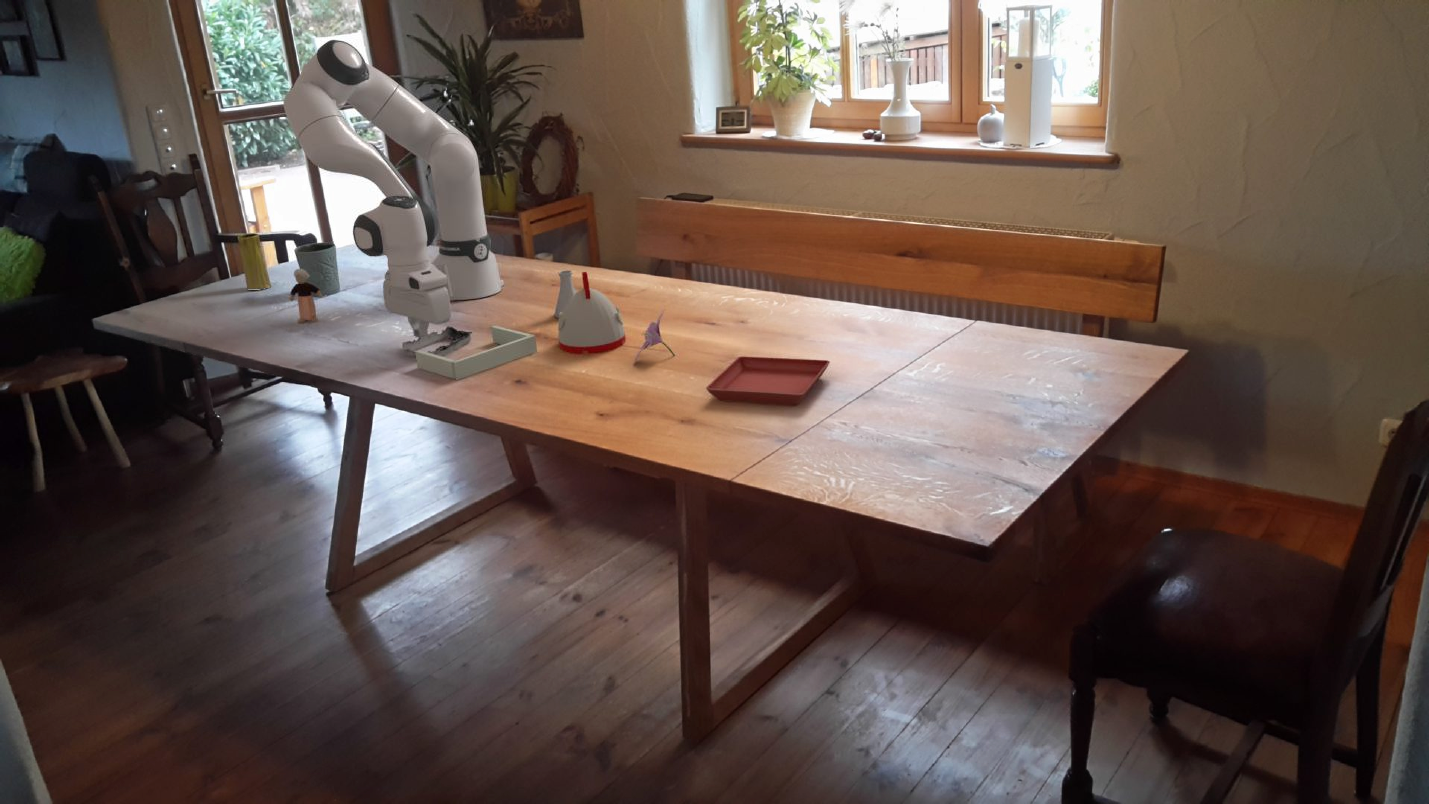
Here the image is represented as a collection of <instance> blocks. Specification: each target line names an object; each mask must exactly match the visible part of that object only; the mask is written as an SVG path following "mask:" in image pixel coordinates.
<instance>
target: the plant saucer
mask: <svg viewBox="0 0 1429 804" xmlns="http://www.w3.org/2000/svg"><path fill="white" fill-rule="evenodd" d="M829 365H830V360H828V359H825V360H824V359H809V358H808V359H807V358H806V359H805V358H804V359H803V358H790V357H788V358H783V357H763V356H762V357H760V356H745V355H744V356H738V357H737V358H736V359H735V360H733V361H732V363H731V364H729V365H728V366H727V367H726V368H725V369H724V370H722V372H721V373H720V374H719V375H717V376H716V378H715V379H713V380H712V381H711V382H710V383H709V384H708V385H707V386H706V388H705V389H706V390H707V392H709V394H711V395H712V396H713V397H714V398H716V399H717V400H719V401H723V402H734V403H751V404H762V405H765V404H766V405H776V406H780V405H781V406H791V407H795V406H796V407H797V406H798V405H799V404H800V403H801V401H802V400H803V398H805V396H807V394H808V393H809V391H810V390H812V388H813V387H814V386H815V384H816V383H817V382H818V381H819V379H821V377H822V376H823V374H824V373H825V371H826V370H827V368H828V367H829Z"/></svg>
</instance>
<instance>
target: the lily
mask: <svg viewBox="0 0 1429 804" xmlns="http://www.w3.org/2000/svg"><path fill="white" fill-rule="evenodd" d="M665 310H666V309H663V311H662V313H660V315H659V316H658V319H657V321H656V322H655V321H651V322H650V324H649V325H648V326H647V329H646V330H644V331H645V332H643V334H642V333H641V336H642V335H643V336H644V340H645V341H644V343H643V344H642V346H641V348H640V350H639V351H638V352H637V353H636V356H635V358H634V360H633V364H632V365H634V364H635V362H636V361H637V359H638V356H639V355H640V354H641V352H642V351H643V350H645V349H647V348H650V347H653V346H655V345H658V344H662V345H664V346H665V347H666V348H667V349H668V351H669V352H670V353H671V355H672V356H673V357H676V354H675V353H674V352H673V351H672V350H671V348H670V347H669V346H668V345H667V343H665V342H664V341H663V340H662V336H661V331H660V323H661V322H660V321H661V320H662V317H663V315H664V312H665Z"/></svg>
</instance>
